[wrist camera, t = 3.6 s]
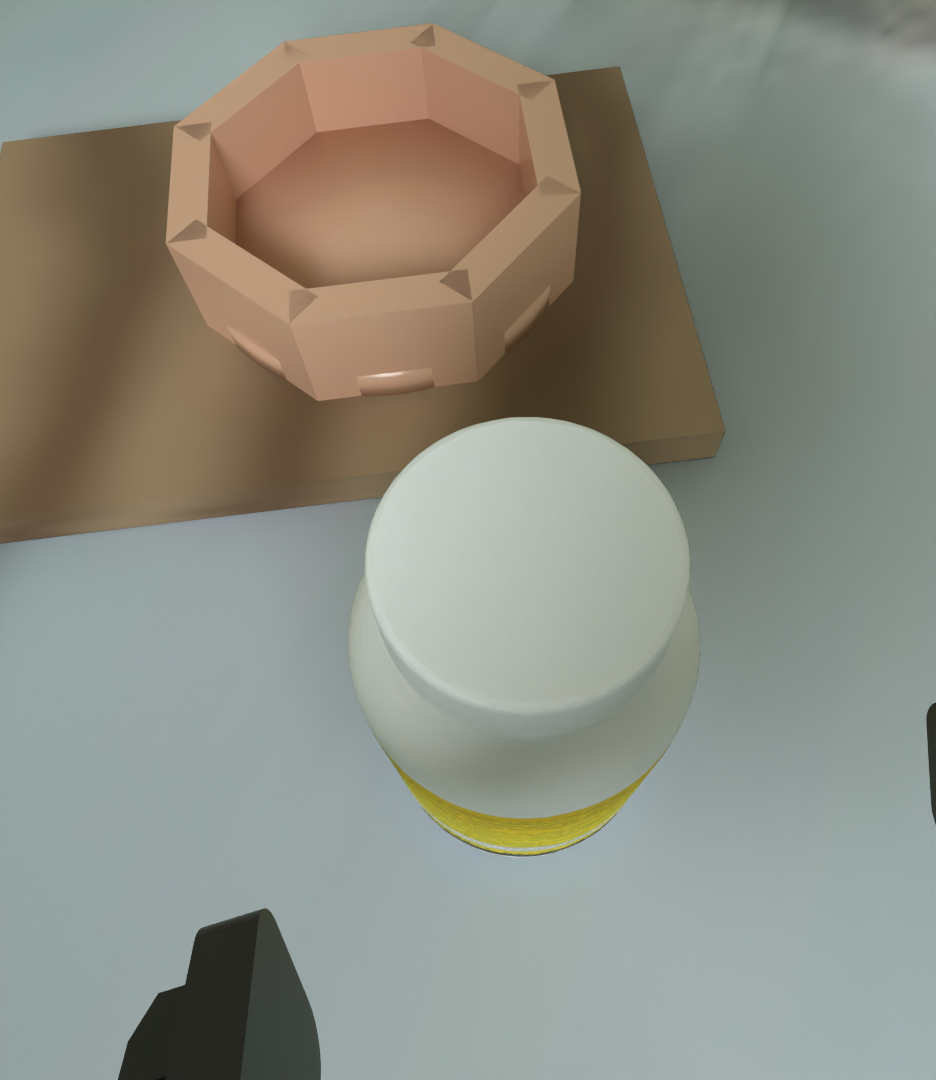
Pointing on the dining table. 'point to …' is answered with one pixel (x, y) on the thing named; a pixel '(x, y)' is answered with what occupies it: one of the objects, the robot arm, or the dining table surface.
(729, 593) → the dining table surface
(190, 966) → the robot arm
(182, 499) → the walnut board
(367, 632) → the supplement bottle
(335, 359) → the octagonal planter bowl
